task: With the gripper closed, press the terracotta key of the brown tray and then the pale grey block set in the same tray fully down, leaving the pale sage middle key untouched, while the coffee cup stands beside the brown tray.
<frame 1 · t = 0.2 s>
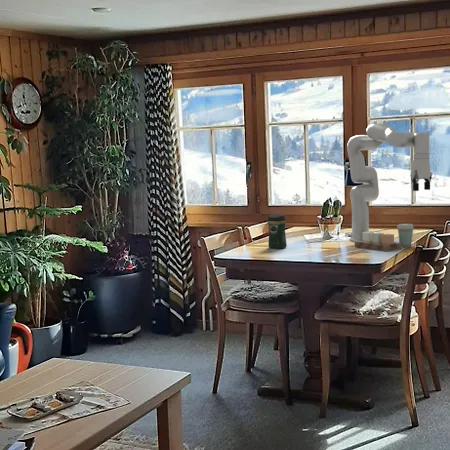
hand: (421, 190, 344), 31 cm above the table, tool pointing down, fingers open, 9 cm apart
coffee cup: (405, 247, 357), on the table
coffee jar: (277, 248, 367), on the table
key sage: (377, 237, 356), point 5 cm above the table, slide at 0.0 cm
key terracotta: (387, 239, 350), point 5 cm above the table, slide at 0.0 cm
brown tray: (378, 247, 357), on the table
pale grey block: (368, 236, 362), point 5 cm above the table, slide at 0.0 cm
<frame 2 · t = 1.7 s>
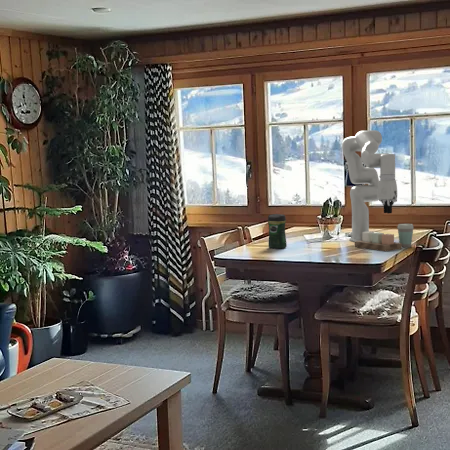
hand: (387, 212, 348), 19 cm above the table, tool pointing down, fingers closed
nothing on the table moved.
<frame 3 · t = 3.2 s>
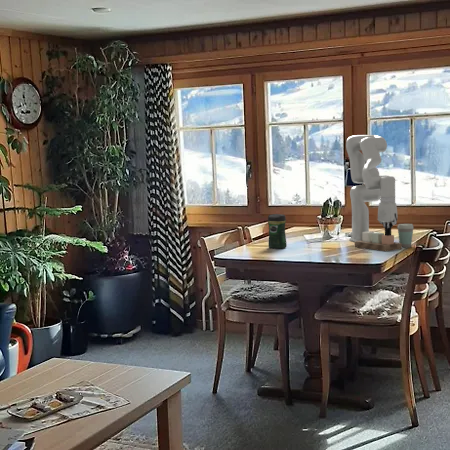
hand: (388, 235, 350), 7 cm above the table, tool pointing down, fingers closed
key terracotta: (387, 239, 350), point 5 cm above the table, slide at 0.4 cm, touching gripper
everything else where it was.
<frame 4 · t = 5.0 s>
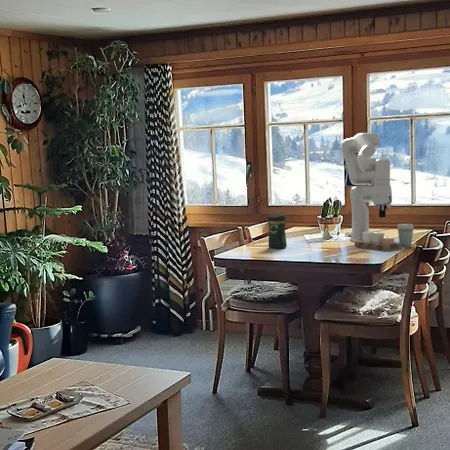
hand: (382, 217, 352), 17 cm above the table, tool pointing down, fingers closed
key terracotta: (387, 243, 350), point 3 cm above the table, slide at 2.1 cm
everything else where it was.
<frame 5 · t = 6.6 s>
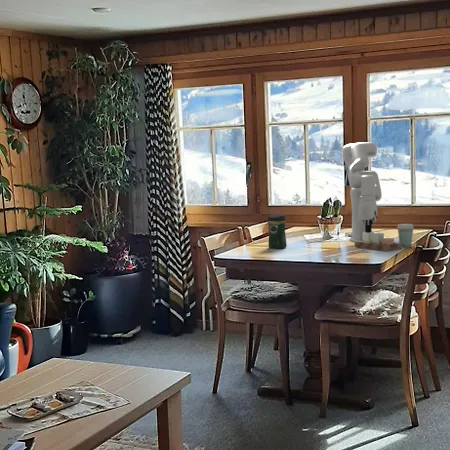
hand: (368, 232, 361), 8 cm above the table, tool pointing down, fingers closed
pale grey block: (368, 236, 362), point 5 cm above the table, slide at 0.1 cm, touching gripper
everything else where it was.
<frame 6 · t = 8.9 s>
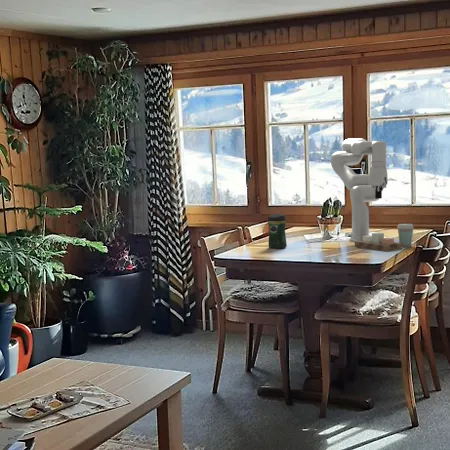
hand: (378, 198, 363), 26 cm above the table, tool pointing down, fingers closed
pale grey block: (368, 240, 362), point 3 cm above the table, slide at 2.1 cm
everything else where it was.
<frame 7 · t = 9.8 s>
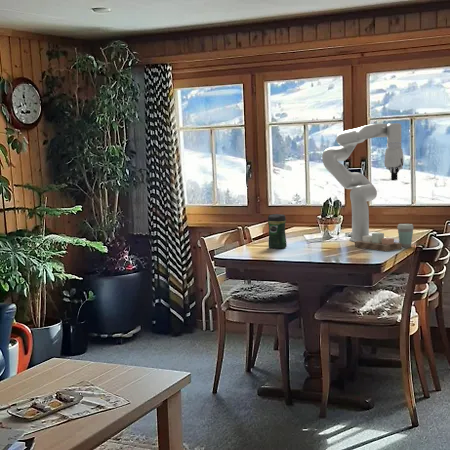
hand: (394, 180, 365), 35 cm above the table, tool pointing down, fingers closed
nothing on the table moved.
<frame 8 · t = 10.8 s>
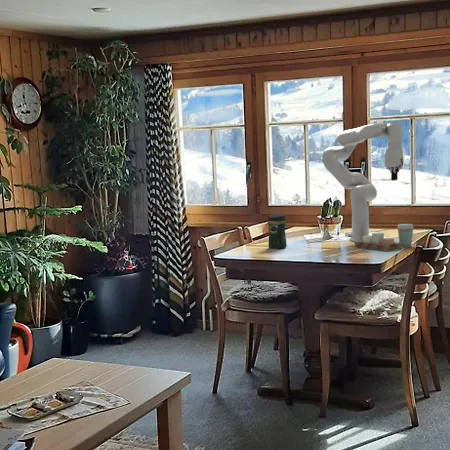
hand: (394, 180, 365), 35 cm above the table, tool pointing down, fingers closed
nothing on the table moved.
at the end: key terracotta slide at 2.1 cm; pale grey block slide at 2.1 cm; key sage slide at 0.0 cm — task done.
